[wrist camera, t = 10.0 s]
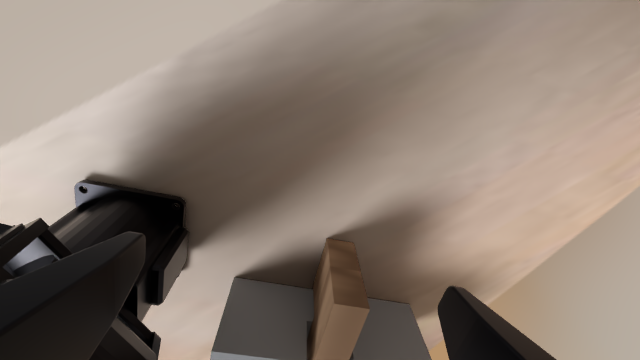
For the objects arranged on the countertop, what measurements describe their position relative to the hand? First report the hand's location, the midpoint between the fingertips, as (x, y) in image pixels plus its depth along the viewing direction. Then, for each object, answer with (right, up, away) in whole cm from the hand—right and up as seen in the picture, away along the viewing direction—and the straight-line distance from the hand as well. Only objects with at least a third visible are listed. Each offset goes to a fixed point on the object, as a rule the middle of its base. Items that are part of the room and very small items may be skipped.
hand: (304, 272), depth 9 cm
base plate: (+1, -7, +15) cm, 17 cm away
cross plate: (0, -7, +15) cm, 17 cm away
